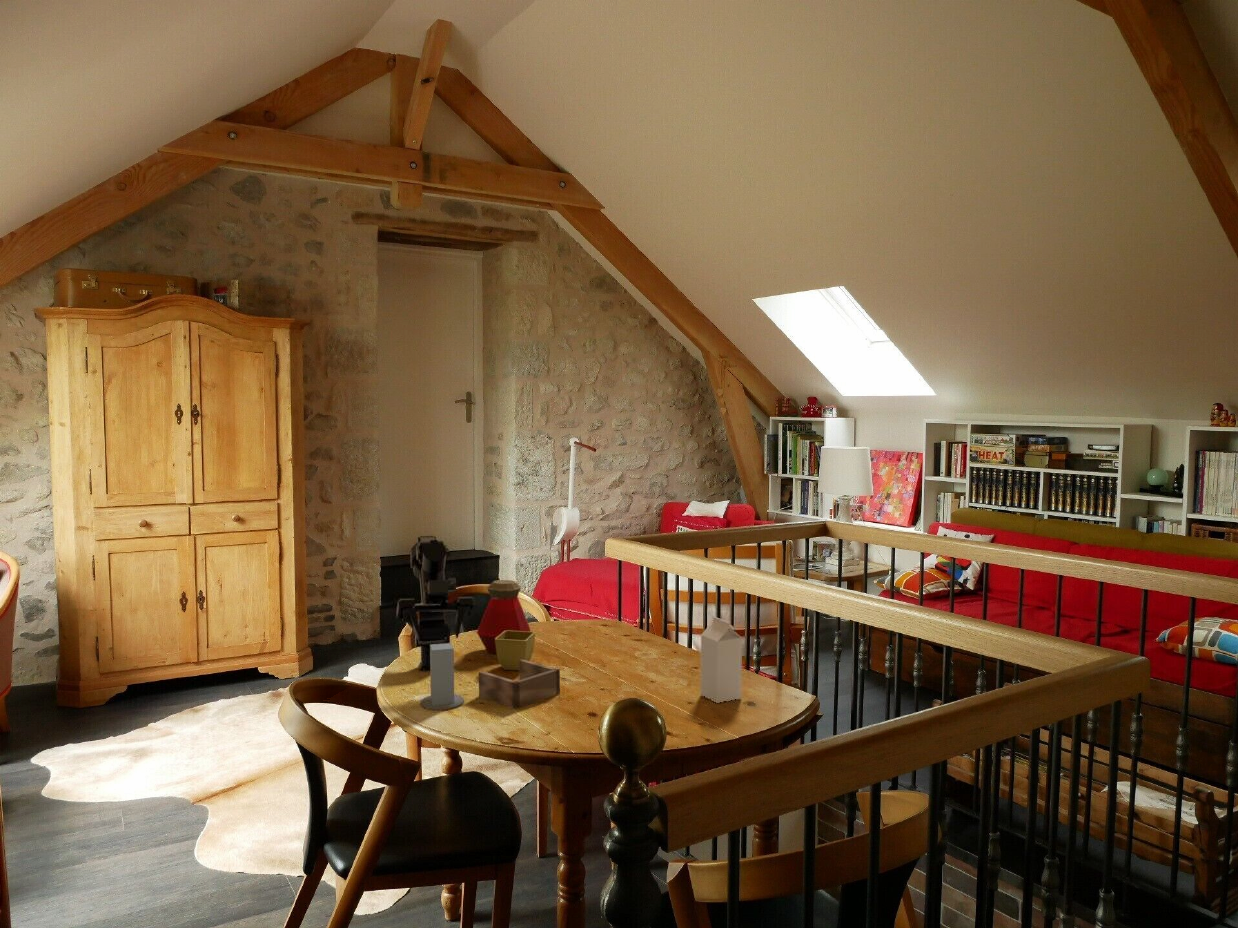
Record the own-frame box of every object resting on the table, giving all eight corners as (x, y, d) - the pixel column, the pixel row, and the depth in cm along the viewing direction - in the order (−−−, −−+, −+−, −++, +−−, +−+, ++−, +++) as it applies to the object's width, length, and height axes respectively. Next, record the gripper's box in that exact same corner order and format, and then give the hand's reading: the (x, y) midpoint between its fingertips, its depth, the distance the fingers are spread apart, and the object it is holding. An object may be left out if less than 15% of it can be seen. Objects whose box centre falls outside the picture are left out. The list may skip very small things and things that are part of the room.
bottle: (469, 655, 253) (468, 585, 251) (486, 643, 266) (486, 576, 264) (522, 659, 249) (522, 587, 248) (537, 646, 262) (537, 578, 261)
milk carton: (716, 703, 213) (717, 624, 212) (700, 695, 219) (701, 618, 218) (741, 699, 216) (742, 621, 215) (724, 690, 222) (725, 615, 221)
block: (430, 698, 215) (430, 644, 214) (452, 696, 216) (451, 642, 215) (432, 704, 210) (431, 650, 209) (454, 702, 212) (453, 648, 211)
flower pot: (526, 673, 236) (526, 640, 236) (494, 671, 238) (494, 638, 237) (535, 664, 245) (535, 631, 244) (505, 662, 246) (504, 630, 246)
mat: (421, 697, 217) (421, 694, 217) (463, 694, 219) (463, 692, 219) (420, 711, 207) (420, 708, 207) (464, 708, 209) (464, 706, 209)
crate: (478, 696, 218) (478, 671, 218) (523, 682, 229) (522, 659, 228) (515, 708, 209) (515, 683, 209) (559, 693, 220) (559, 669, 220)
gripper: (399, 566, 221) (402, 622, 211) (475, 565, 227) (481, 619, 218) (395, 591, 229) (398, 645, 219) (468, 589, 235) (474, 642, 226)
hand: (438, 637), depth 220 cm, fingers open, 9 cm apart
